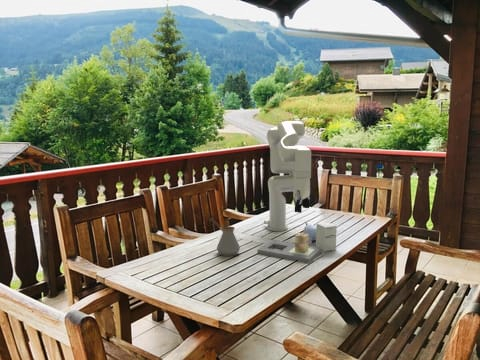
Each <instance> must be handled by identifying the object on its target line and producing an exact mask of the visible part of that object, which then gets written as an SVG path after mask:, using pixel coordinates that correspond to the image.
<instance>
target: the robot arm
mask: <svg viewBox="0 0 480 360" xmlns="http://www.w3.org/2000/svg"><path fill="white" fill-rule="evenodd" d="M305 130H306V129H305V125H304V124H303V122H301V121H296V120H295V121H282V122H280V123H279V124H278V125H277V127H273V128H272V127H271V128H269V129H268V131H267V132H266V139H267V144H268V146H269V149H270V150H269V152H270V158H269V159H270V160H269V161H270V164H269V165H270V170H271V173H272V174H289V175H273V176H271V177H269V179H268V180H267V187H268V192H269V219H264V220H263V223H264V224H265V225H266V229H267V230H268V231H273V232H283V231H287V230H288V229H289V226H288V225H287V224H286V220H287V219H286V218H287V217H286V214H287V210H286V209H287V205H286V204H287V203H286V202H287V201H286V200H287V199H286V197H285V196H284V195H283V193H285V192H287V193H289V192H293V194H292V195H293V199H294V200H293V202H294V212H295V213H300V214H301V213H302V212H303V211H302V210H303V209H310V199H311V198H310V195H311V180H310V179H311V178H312V150H311V148H308V147H307V146H304V145H301V146H296V145H298V143H299V141H300V140H301V139H302V138H303V137H304V135H305V132H306V131H305ZM302 208H303V209H302Z"/></svg>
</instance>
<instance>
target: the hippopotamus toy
mask: <svg viewBox="0 0 480 360" xmlns="http://www.w3.org/2000/svg"><path fill="white" fill-rule="evenodd" d="M304 223H305V226H304V227H303V230H302V233H305V234H309V245H312V244H313V240H314V241H316V229H317V225H315V224H308V222H307V221H304Z"/></svg>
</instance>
